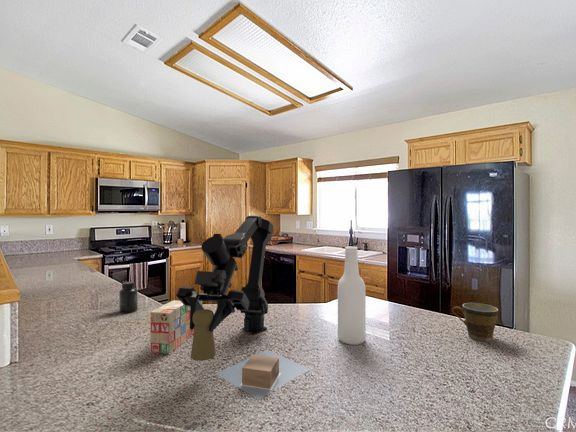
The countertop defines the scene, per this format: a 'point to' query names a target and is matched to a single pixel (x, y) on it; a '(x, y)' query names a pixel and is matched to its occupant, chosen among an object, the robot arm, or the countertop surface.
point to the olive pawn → (203, 336)
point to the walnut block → (260, 371)
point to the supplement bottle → (128, 298)
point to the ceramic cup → (479, 320)
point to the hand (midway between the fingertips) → (200, 330)
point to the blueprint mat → (234, 376)
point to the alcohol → (351, 301)
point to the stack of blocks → (170, 326)
